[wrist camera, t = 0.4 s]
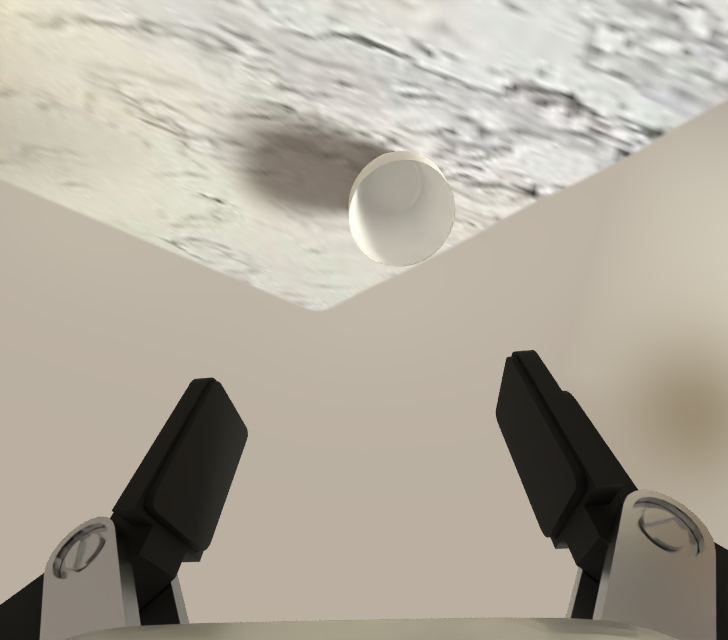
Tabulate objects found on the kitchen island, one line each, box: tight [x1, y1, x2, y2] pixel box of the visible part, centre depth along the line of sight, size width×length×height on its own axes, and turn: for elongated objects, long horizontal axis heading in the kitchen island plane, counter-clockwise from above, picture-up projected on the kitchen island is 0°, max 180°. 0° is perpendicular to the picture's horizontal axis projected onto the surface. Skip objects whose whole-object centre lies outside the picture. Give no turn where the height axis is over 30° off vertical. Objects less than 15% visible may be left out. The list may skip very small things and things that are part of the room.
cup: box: [348, 151, 455, 267], centre depth 30 cm, size 9×9×12 cm
